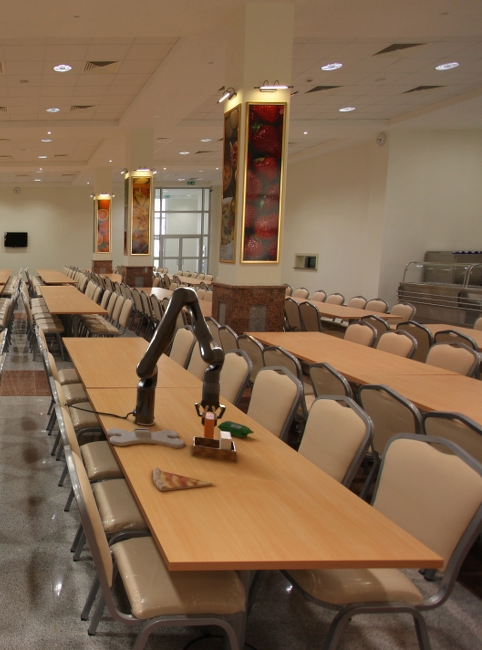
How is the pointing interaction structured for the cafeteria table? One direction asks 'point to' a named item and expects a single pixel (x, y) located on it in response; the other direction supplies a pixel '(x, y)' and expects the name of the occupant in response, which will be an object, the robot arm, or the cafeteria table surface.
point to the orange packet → (209, 425)
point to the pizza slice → (175, 481)
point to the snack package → (235, 428)
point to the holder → (144, 437)
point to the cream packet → (225, 440)
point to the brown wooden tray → (212, 449)
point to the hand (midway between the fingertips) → (208, 425)
